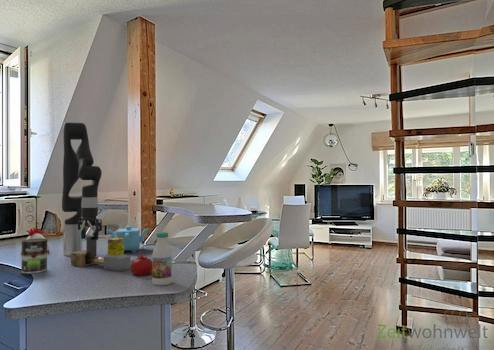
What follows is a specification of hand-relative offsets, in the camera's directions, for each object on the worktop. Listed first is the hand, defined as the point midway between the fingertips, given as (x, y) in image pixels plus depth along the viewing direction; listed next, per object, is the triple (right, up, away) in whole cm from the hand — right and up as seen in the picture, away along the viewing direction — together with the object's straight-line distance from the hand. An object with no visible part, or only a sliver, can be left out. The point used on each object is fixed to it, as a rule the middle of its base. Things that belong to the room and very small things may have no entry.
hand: (89, 239), depth 174 cm
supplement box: (+9, -13, +12) cm, 20 cm away
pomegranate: (+31, -12, -18) cm, 38 cm away
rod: (+6, -11, -4) cm, 13 cm away
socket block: (-3, -13, +1) cm, 13 cm away
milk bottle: (+44, -12, -34) cm, 57 cm away
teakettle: (+7, -14, +36) cm, 39 cm away
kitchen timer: (-44, -14, +29) cm, 55 cm away
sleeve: (+17, -12, -9) cm, 22 cm away
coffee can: (-20, -13, -12) cm, 26 cm away
